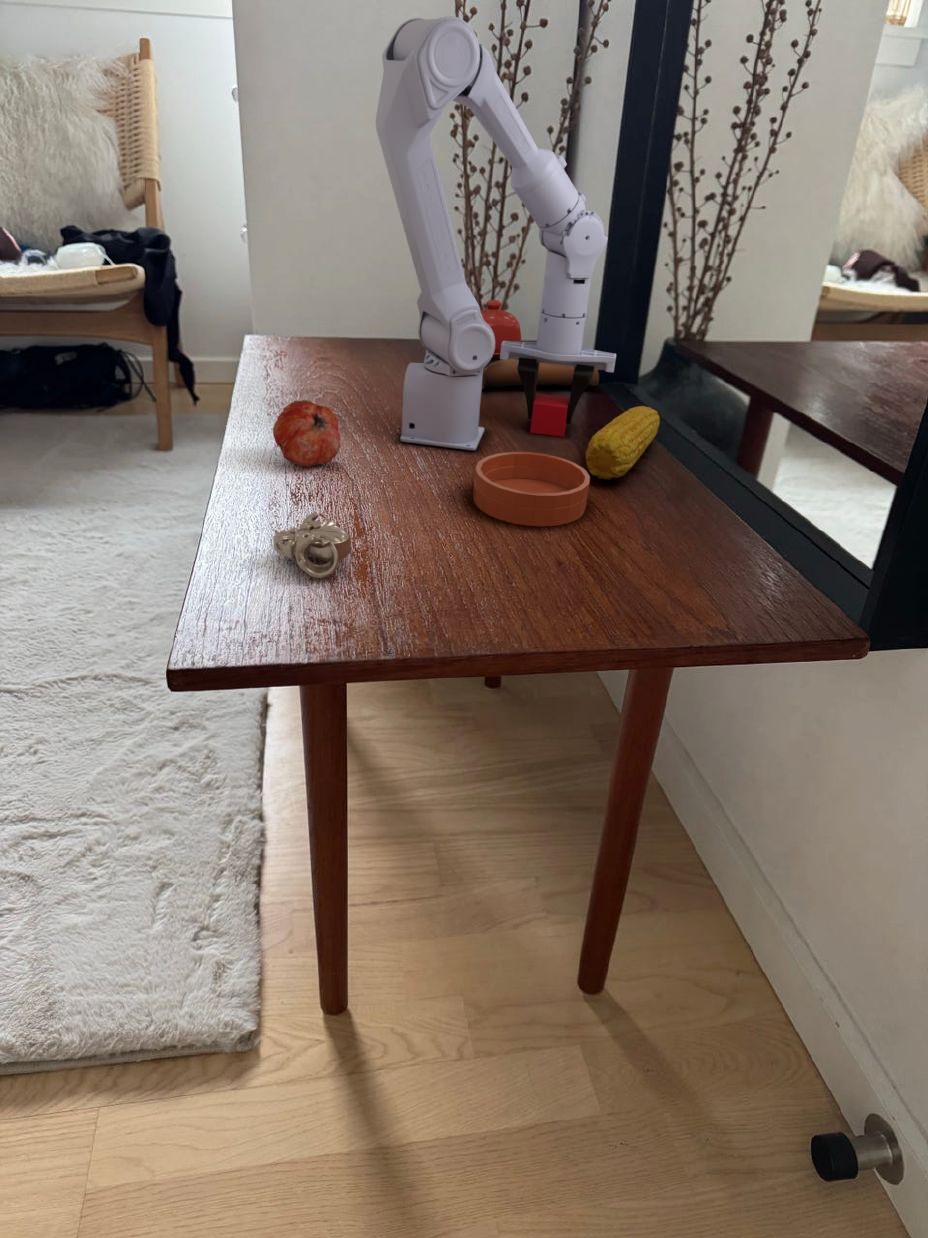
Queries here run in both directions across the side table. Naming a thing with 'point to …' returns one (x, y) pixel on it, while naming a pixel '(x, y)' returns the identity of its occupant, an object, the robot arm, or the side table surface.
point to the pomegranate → (307, 433)
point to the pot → (530, 488)
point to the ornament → (314, 545)
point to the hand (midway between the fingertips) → (549, 419)
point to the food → (621, 442)
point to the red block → (549, 415)
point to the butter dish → (501, 325)
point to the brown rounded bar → (547, 375)
